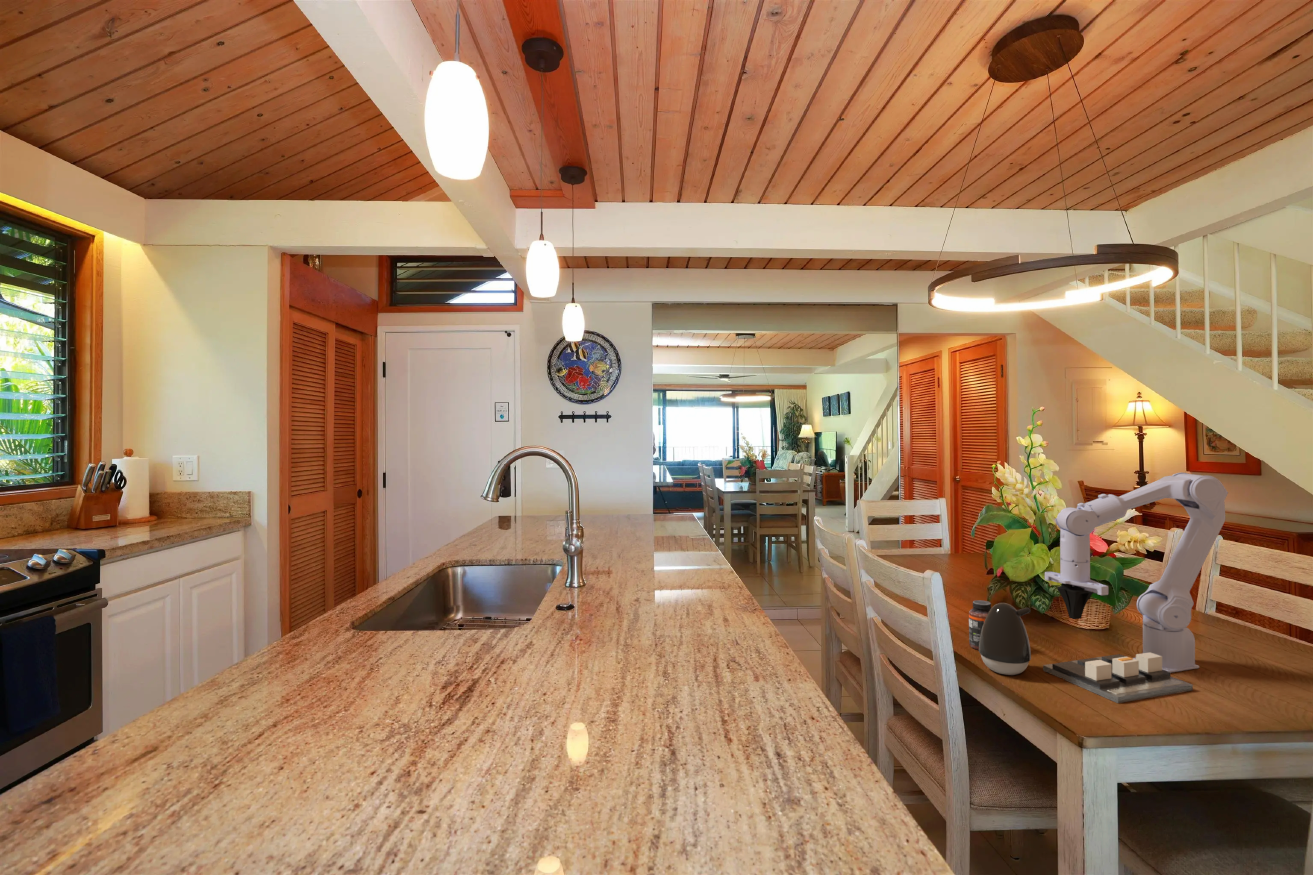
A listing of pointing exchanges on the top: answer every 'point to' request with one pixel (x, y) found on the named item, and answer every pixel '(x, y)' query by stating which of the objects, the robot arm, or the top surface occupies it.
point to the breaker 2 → (1149, 662)
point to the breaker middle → (1125, 666)
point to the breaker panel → (1119, 681)
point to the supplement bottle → (977, 621)
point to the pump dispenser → (1005, 640)
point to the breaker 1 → (1098, 670)
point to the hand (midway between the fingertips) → (1075, 617)
